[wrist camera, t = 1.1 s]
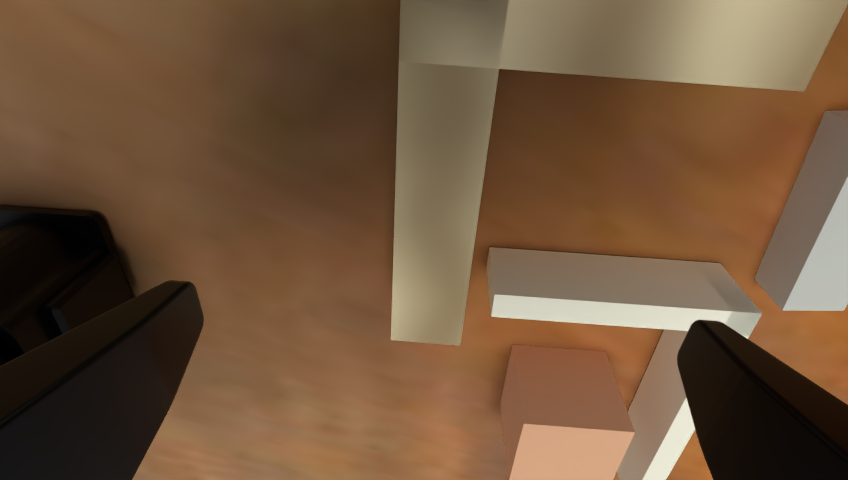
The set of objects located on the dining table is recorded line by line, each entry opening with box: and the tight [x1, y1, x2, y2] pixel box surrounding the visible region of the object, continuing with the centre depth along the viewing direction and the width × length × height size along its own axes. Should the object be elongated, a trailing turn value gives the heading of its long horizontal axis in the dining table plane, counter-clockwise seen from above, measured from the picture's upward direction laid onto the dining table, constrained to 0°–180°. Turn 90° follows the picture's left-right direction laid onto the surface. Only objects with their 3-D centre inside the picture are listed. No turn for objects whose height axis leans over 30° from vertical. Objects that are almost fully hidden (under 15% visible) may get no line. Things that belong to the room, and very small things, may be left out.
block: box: [500, 345, 635, 480], centre depth 24 cm, size 5×5×5 cm
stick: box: [754, 110, 848, 311], centre depth 19 cm, size 2×8×2 cm, turn 2°
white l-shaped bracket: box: [486, 247, 762, 480], centre depth 24 cm, size 11×15×4 cm
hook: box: [391, 0, 848, 346], centre depth 18 cm, size 12×14×4 cm
